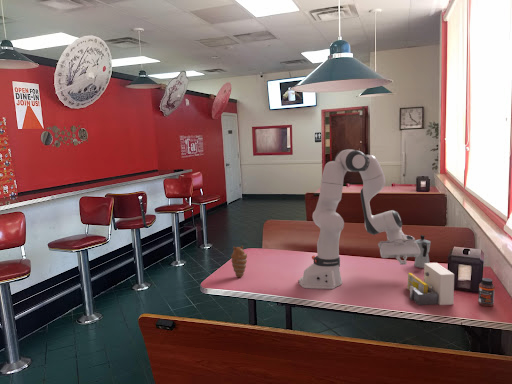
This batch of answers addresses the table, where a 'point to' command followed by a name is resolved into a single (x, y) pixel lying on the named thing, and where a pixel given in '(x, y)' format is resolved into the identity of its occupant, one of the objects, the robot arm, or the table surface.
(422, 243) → the coffee maker
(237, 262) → the brown ridged elongated piece
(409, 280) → the candy box
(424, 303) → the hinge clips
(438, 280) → the cabinet
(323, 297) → the table surface
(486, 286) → the supplement bottle
